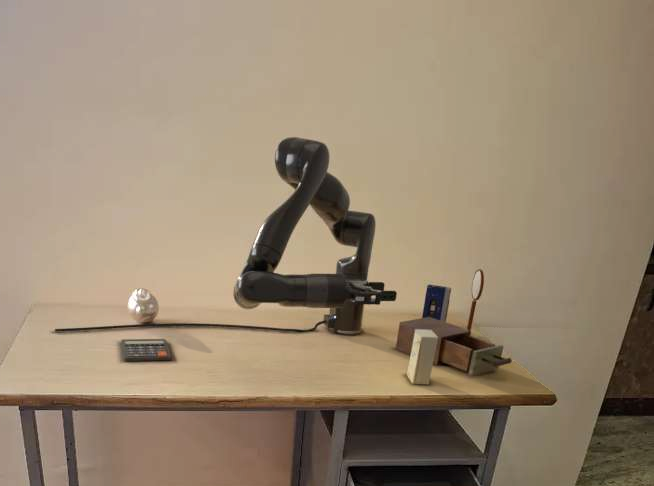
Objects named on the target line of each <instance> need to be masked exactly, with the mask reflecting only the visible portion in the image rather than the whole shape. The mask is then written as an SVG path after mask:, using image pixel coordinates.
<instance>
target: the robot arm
mask: <svg viewBox="0 0 654 486" xmlns="http://www.w3.org/2000/svg"><path fill="white" fill-rule="evenodd" d="M274 165H275V169H276V170H275V171H276V172H277V175H278V176H279V177H280V179H281V180H282V181H283V182H285V184H287V185H289V186H290V187H291V188H292V189H294V191H293V192H292V194H291V195H290V196H289V197H288V198H287V199H286V200H285V201H284V202H282V204H281V205H279V206H278V207H277V208H276V209H275V210H273V211H272V212H271V213H270V214H269V215H268V216H267V217H266V218H265V219H264V221H262V223H261V225H260V226H259V229H258V230H257V233H256V235H255V238H254V240H253V242H252V245H251V248H250V250H249V254H248V257H247V259H246V262H245V263H244V265H243V267H242V270H241V271H240V273H239V276H238V278H237V279H236V282H235V284H234V286H233V291H232V292H233V293H232V295H233V299H234V301H235V303H236V305H237V306H238V307H240V308H241V309H243V310H253V309H256V308H257V307H259V306H261V304H278V305H279V306H280V307H285V308H309V309H329V314H323V320H321V321H319V322H317V323H315V325H314V327H312V328H309V329H297V328H280V327H270V326H267V327H266V326H258V325H257V326H256V325H240V324H223V323H222V324H221V323H195V322H193V323H190V322H189V323H188V322H186V323H185V322H184V323H183V322H182V323H181V322H180V323H179V322H178V323H173V322H172V323H171V322H170V323H141V324H140V323H139V324H122V325H104V326H91V327H69V328H54V332H55V333H58V332H78V331H95V330H96V331H97V330H113V329H114V330H115V329H129V328H149V327H213V328H214V327H215V328H216V327H217V328H219V327H220V328H233V329H234V328H236V329H237V328H238V329H254V330H264V331H265V330H266V331H278V332H296V333H305V332H306V333H307V332H314V331H315V330H317V328H318V327H319V326H320V325H322V324H323V325H324V326H325V327H326V328H327V329H329V330H330V331H331V332H332V333H333V334H339V335H347V336H350V335H358V334H361V333H362V330H363V329H362V327H363V318H364V309H365V305H376V306H378V305H381V303H382V302H396V300H397V294H398V293H397V291H396V290H385V282H383V281H369V280H368V277H369V268H370V263H371V259H372V253H373V247H374V240H375V235H376V224H377V223H376V217H375V215H374V214H372V213H370V212H363V211H356V210H350V205H351V198H350V194H349V192H348V190H347V188H346V187H345V185H344V184H343V183H342V182H341V180H339V179H338V178H337V177H336V176H334V175H333V174H332V173H330V172H328V169H329V166H330V151H329V148H328V146H327V145H326V143H324V142H322V141H319V140H314V139H309V138H304V137H298V136H291V137H286V138H283V139H282V140H281V141H280V142H279V143H278V145H277V147H276V148H275V152H274ZM309 206H310V208H311V209H312V210H313V212H314V213H315V214H316V215H317V216H318V217H319V218H320V219H321V220H322V221H323V223H324V224H325V225H326V226H327V228H328V230H329V231H330V233H331V235H332V237H333V238H334V240H335V241H336V242H337V243H338V244H340V245H342V246H346V247H352V248H356V251H355V254H353V255H351V256H346V257H342V258H339V259H338V260H337V262H336V267H335V273H306V274H305V273H304V274H296V273H295V274H293V273H292V274H282V273H278V272H275V271H276V270H277V268H278V266H279V264H280V262H281V261H282V258H283V255H284V253H285V250H286V248H287V246H288V243H289V241H290V239H291V237H292V234H293V233H294V230H295V229H296V227H297V226H298V223H299V222H300V220H301V219H302V217H303V216H304V214H305V212H306V211H307V209H308V207H309Z"/></svg>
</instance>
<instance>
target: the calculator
mask: <svg viewBox="0 0 654 486" xmlns="http://www.w3.org/2000/svg"><path fill="white" fill-rule="evenodd" d="M120 342H121V349H122V356H123V361H124V362H138V361H139V362H141V361H171V360H172V356H171V352H170V349H169V346H168V343H167V339H166V338H131V339H128V338H127V339H126V338H125V339H121V340H120Z"/></svg>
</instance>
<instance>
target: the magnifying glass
mask: <svg viewBox="0 0 654 486" xmlns="http://www.w3.org/2000/svg"><path fill="white" fill-rule="evenodd" d="M484 284H485V274H484V271H483V269H481V268H479V269H476V271H475V272H474V275H473V278H472V282H471V297H472V301H471V306H470V311H469V316H468V320H467V326H466V329H467V330H470V331H471V332H472V325H473V321H474V316H475V311H476V306H477V301H479V300H480V298H481V297H482V293H483V290H484Z"/></svg>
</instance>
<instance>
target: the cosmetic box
mask: <svg viewBox="0 0 654 486" xmlns="http://www.w3.org/2000/svg"><path fill="white" fill-rule="evenodd" d="M437 341H438V337H437V335H436V334H435V333H434V332H433V331H432V330H423V329H415V334H414V340H413V345H412V351H411V355H409V356H410V357H409V360H408V361H409V362H408V368H407V372H406V376H407V377H408V380H410V382H411V383H412V384H413V385H429V384H430V381H431V375H432V371H433V365H434V364H433V361H434V356H435V351H436V346H437Z"/></svg>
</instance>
